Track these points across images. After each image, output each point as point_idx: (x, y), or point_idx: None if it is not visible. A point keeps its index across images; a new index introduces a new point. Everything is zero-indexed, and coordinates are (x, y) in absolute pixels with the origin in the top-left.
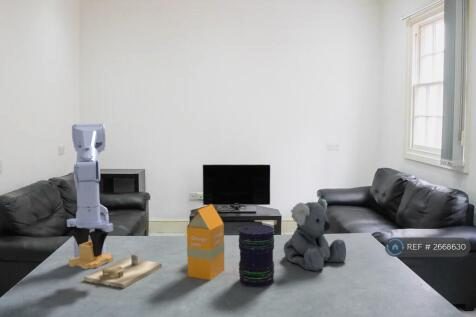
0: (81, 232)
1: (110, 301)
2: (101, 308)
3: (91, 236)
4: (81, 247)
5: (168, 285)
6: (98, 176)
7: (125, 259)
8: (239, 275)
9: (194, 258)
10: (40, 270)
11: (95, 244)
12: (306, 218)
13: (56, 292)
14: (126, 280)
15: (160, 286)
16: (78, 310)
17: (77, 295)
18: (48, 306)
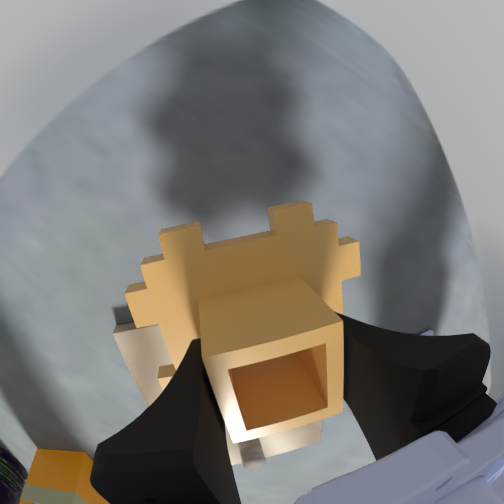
0: (398, 416)
1: (56, 225)
2: (36, 171)
3: (170, 436)
4: (308, 321)
5: (55, 399)
6: None
7: (308, 437)
8: (6, 461)
9: (58, 487)
10: (467, 245)
11: (162, 392)
12: None
13: (297, 150)
14: (137, 359)
15: (60, 387)
16: (83, 108)
17: (199, 179)
18: (205, 60)
